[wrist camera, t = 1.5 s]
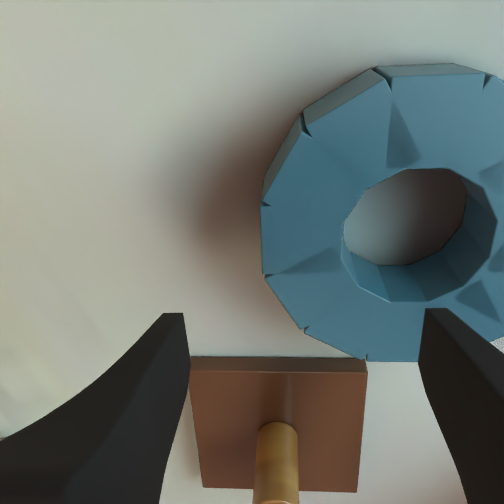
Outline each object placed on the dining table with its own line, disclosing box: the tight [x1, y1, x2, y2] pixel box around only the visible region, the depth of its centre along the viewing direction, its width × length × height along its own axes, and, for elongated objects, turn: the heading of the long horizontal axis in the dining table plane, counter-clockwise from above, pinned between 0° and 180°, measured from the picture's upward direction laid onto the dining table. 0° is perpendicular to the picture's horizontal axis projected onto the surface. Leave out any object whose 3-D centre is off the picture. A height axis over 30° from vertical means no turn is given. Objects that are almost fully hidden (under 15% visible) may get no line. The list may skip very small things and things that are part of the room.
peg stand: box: [189, 357, 368, 504], centre depth 26 cm, size 10×10×6 cm
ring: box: [260, 63, 504, 362], centre depth 21 cm, size 13×13×3 cm
